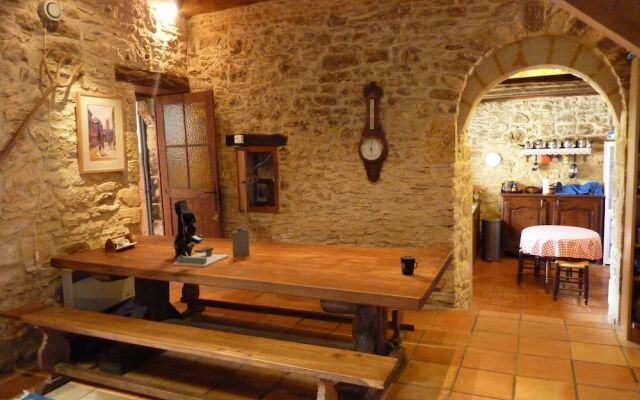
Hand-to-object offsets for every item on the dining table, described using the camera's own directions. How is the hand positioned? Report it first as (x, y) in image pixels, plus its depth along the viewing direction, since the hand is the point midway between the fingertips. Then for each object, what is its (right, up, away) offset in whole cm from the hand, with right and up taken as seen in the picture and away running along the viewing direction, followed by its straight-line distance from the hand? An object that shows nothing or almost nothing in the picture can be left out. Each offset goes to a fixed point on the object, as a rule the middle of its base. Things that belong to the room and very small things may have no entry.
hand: (189, 255), depth 312 cm
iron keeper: (+3, -3, +25) cm, 26 cm away
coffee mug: (+135, -8, -29) cm, 138 cm away
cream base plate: (+4, -5, +17) cm, 18 cm away
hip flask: (+28, -3, +32) cm, 42 cm away
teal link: (0, -5, +7) cm, 9 cm away
